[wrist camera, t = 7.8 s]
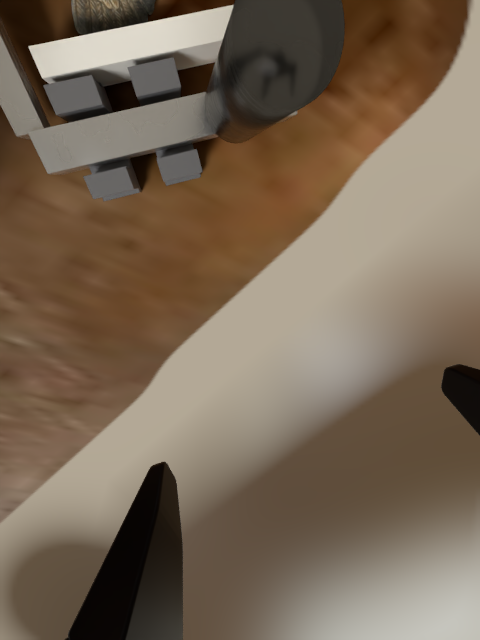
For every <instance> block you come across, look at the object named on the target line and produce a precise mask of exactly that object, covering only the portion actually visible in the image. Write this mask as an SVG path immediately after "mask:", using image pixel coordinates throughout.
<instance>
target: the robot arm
mask: <svg viewBox="0 0 480 640" xmlns="http://www.w3.org/2000/svg"><path fill="white" fill-rule="evenodd" d="M441 388H442V391H443V393H444V395H445V396H446V397H447V398H448V399H449V400H450V402H451V403H452V404H453V405H454V406H455V407H456V409H457V410H458V411H459V412H460V413H461V414H462V416H463V417H464V418H465V419H466V420H467V421H468V423H469V424H470V425H471V426H472V427H473V428H474V430H475V431H476V432H477V433H478V434H479V435H480V370H479V369H475V368H472V367H468V366H464V365H461V364H457V365H453V366H450V367H447V368H446V369H445V370H444V374H443V380H442V385H441ZM182 545H183V544H182V532H181V522H180V512H179V502H178V493H177V483H176V479H175V477H174V475H173V474H172V471H171V470H170V468H169V466H168V464H167V463H166V462H161V463H158V464H155V465H153V466H151V468H150V469H149V471H148V473H147V475H146V477H145V479H144V481H143V483H142V485H141V487H140V489H139V491H138V493H137V495H136V497H135V499H134V501H133V503H132V505H131V507H130V509H129V511H128V513H127V515H126V517H125V519H124V521H123V523H122V525H121V527H120V530H119V532H118V534H117V536H116V538H115V540H114V542H113V544H112V546H111V548H110V550H109V552H108V554H107V556H106V558H105V560H104V562H103V564H102V566H101V568H100V570H99V572H98V574H97V576H96V578H95V580H94V582H93V584H92V586H91V588H90V590H89V592H88V594H87V596H86V598H85V600H84V602H83V604H82V606H81V608H80V610H79V612H78V614H77V616H76V618H75V620H74V623H73V625H72V627H71V629H70V630H69V633H68V638H66V639H65V640H183V546H182Z"/></svg>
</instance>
